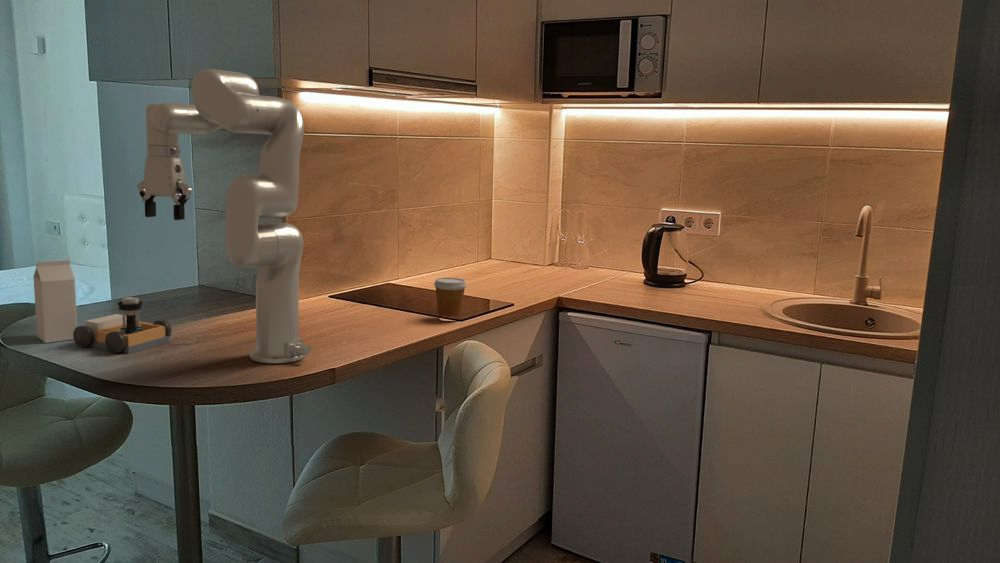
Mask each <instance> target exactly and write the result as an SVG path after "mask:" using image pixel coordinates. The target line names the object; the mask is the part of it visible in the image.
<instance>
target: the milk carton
mask: <svg viewBox="0 0 1000 563" xmlns="http://www.w3.org/2000/svg"><path fill="white" fill-rule="evenodd" d="M35 266H36V267H35V270H34V273H33V276H32V277H33V294H34V305H35V306H34V307H35V324H36V325H35V326H36V337H37V338H38V339H40V340H41V341H42V342H44V343H45V344H46V343H55V342H62V341H71V340H74V338H73V332H74V330H75V328H76V327H78V319H77V318H78V317H77V298H76V297H77V296H76V278H75V275H74V272H73V270H72V266H71V261H70V260H69V259H68V260H54V261H39V262H38V261H37V262H36V263H35Z"/></svg>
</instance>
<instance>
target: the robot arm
mask: <svg viewBox="0 0 1000 563" xmlns="http://www.w3.org/2000/svg"><path fill="white" fill-rule="evenodd" d="M191 89H192V90H191V91H192V95H193V103H194V104H189V103H176V102H163V103H149V104H148V105H147V106H146V107H145V122H146V123H145V124H146V125H145V127H146V129H145V130H146V155H147V156H146V158H145V163H144V172H143V173H144V174H143V180H142V181H141V182H139V183H137V184H136V186H137V189H138V193H139V196H140V197H141V199H142V202H144V216H145V218H151V217H152V218H154V217H157V202H156V201H154V200H156V198H157V197H164V198H167V197H168V198H171V199H172V200H173V202H174V204H173V220H174V221H181V220H182V221H183V220H185V218H186V217H185V214H186V212H185V205H186V204H188V200H190V197H191V194H192V188H191V187H190V186H188V185H187V184H186V176H185V171H184V165H183V161H182V158H179V157H180V156H179V155H180V154H181V149H179V148H180V147H179V135H197V136H202V135H203V136H204V135H208V134H209V135H210V134H212V133H214V132H217V131H219V130H221V129H222V128H224V129H225V130H227V131H228V132H232V133H236V134H254V135H268V136H270V137H269V138H268V139H267V141H266V142H265V143H264V145H263V148H262V149H261V152H260V156H259V172H258V174H244V175H240V176H237V177H235V178H234V179H233V180H232V181H231V183H230V184H229V186H228V189H227V192H226V198H225V251H226V255H227V257H228V260H229V261H230V262H231V264H233V265H234V266H235V267H238V268H244V269H245V268H247V269H248V268H257V267H261V269H260V271H259V272H258V275H257V277H256V278H257V279H256V284H255V321H256V322H255V324H256V326H255V331H256V332H255V334H256V335H255V337H256V338H255V340H256V341H255V342H256V343H255V345H256V347H255V348H252V349H251V350H250V351H249V359H250V360H251V361H254V362H257V363H262V364H287V363H288V364H289V363H293V362H296V361H300V360H302V359H303V358H305V357H307V356H309V355H310V353H311V350H312V346H311V344H310V345H309V344H304V343H303V337H299V336H300V335H299V324H300V322H299V321H300V320H299V317H300V316H299V314H300V312H299V308H300V306H299V305H300V304H299V303H300V301H299V298H300V297H299V291H300V290H299V289H300V284H299V283H300V269H301V262H302V257H303V256H302V255H303V252H304V246H305V245H304V244H305V243H304V237H303V235H302V232H301V231H300V230H299V228H298V227H296V226H295V225H293V224H291V223H288V222H282V221H281V222H279V221H278V222H263V223H259V219H269V218H282V217H288V216H290V215H292V214H294V213H295V212H296V210H297V208H298V203H299V185H300V183H299V181H300V180H299V179H300V158H301V157H300V155H301V149H302V144H303V140H304V134H305V121H304V118H303V114H302V111H300V109H299V107H298V106H297V105H296V104H295V103H293V102H292V101H291V100H288V99H286V98H283V97H278V96H270V95H260V94H259V93H260V90H259V89H260V88H259V85H258V84H257V82H256V81H255V79H254V78H253V77H252V76H250V75H248V74H246V73H244V72H239V71H232V70H224V69H215V68H206V69H203V70H201V71H199V72H198V73H197V74H196V75H195V77H194V78H193V81H192V86H191Z"/></svg>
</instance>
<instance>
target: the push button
mask: <svg viewBox="0 0 1000 563" xmlns="http://www.w3.org/2000/svg"><path fill="white" fill-rule="evenodd" d="M142 305H143V301H142V300H139V297H135V296H126V297H125V296H124V297H122V298H121V301H118V302H117V306H118V310H120V311H121V315H122V318H123V326H122V328H121V329H120V332H121V333H122V334H123V335H129V334H133V333H137V332H141V331H142V327H141V325H139V321H140V310H142V307H143V306H142ZM125 315H126V321H125ZM135 316H136V319H135ZM136 325H137V327H136ZM126 327H127V328H126Z"/></svg>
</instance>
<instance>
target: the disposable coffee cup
mask: <svg viewBox="0 0 1000 563" xmlns="http://www.w3.org/2000/svg"><path fill="white" fill-rule="evenodd" d="M433 285H434V287H435V298H436V306H437V316H438V315H440V316H447V317H451V316H458V315H460V316H461V313H462V306H463V300H464V296H465V289H466V287H467V283H466V280H465V279H463V278H458V277H439V278H436V279H435V282H434V284H433Z"/></svg>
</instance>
